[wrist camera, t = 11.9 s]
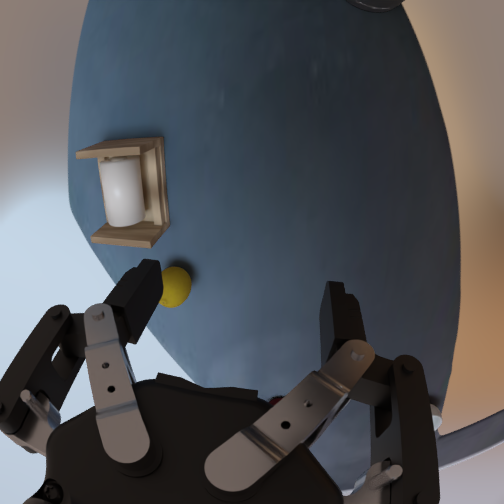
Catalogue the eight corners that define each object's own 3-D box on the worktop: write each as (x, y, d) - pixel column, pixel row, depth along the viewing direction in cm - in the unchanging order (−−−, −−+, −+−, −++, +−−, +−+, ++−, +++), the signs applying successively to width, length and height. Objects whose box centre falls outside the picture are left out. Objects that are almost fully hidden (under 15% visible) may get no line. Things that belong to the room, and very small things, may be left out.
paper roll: (131, 151, 38) (95, 159, 35) (145, 156, 35) (104, 165, 32) (138, 209, 43) (104, 219, 40) (151, 220, 39) (114, 232, 36)
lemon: (160, 259, 47) (140, 288, 40) (191, 255, 46) (174, 286, 39) (172, 286, 49) (154, 317, 43) (201, 284, 48) (187, 316, 41)
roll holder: (104, 141, 38) (75, 152, 32) (163, 136, 37) (139, 146, 31) (114, 222, 44) (91, 242, 38) (169, 225, 43) (151, 248, 37)
